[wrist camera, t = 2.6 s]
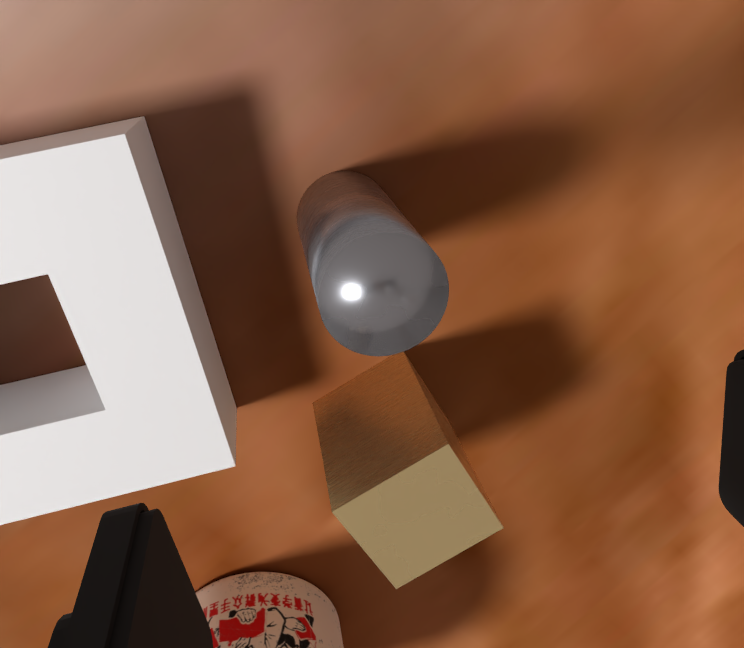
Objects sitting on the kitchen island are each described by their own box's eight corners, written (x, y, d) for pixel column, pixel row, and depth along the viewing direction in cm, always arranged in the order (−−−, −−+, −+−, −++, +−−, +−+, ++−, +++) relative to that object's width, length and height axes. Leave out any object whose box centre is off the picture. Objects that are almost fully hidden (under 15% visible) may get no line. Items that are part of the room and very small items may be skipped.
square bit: (402, 349, 28) (448, 444, 21) (449, 421, 30) (503, 527, 23) (312, 402, 28) (332, 511, 22) (364, 470, 30) (396, 589, 24)
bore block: (143, 116, 22) (124, 133, 19) (236, 408, 27) (235, 466, 24) (-226, 191, 21) (-323, 225, 18) (-57, 479, 26) (-104, 551, 23)
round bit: (382, 161, 24) (440, 219, 17) (397, 251, 26) (455, 339, 19) (287, 182, 24) (305, 249, 17) (307, 272, 26) (332, 369, 18)
